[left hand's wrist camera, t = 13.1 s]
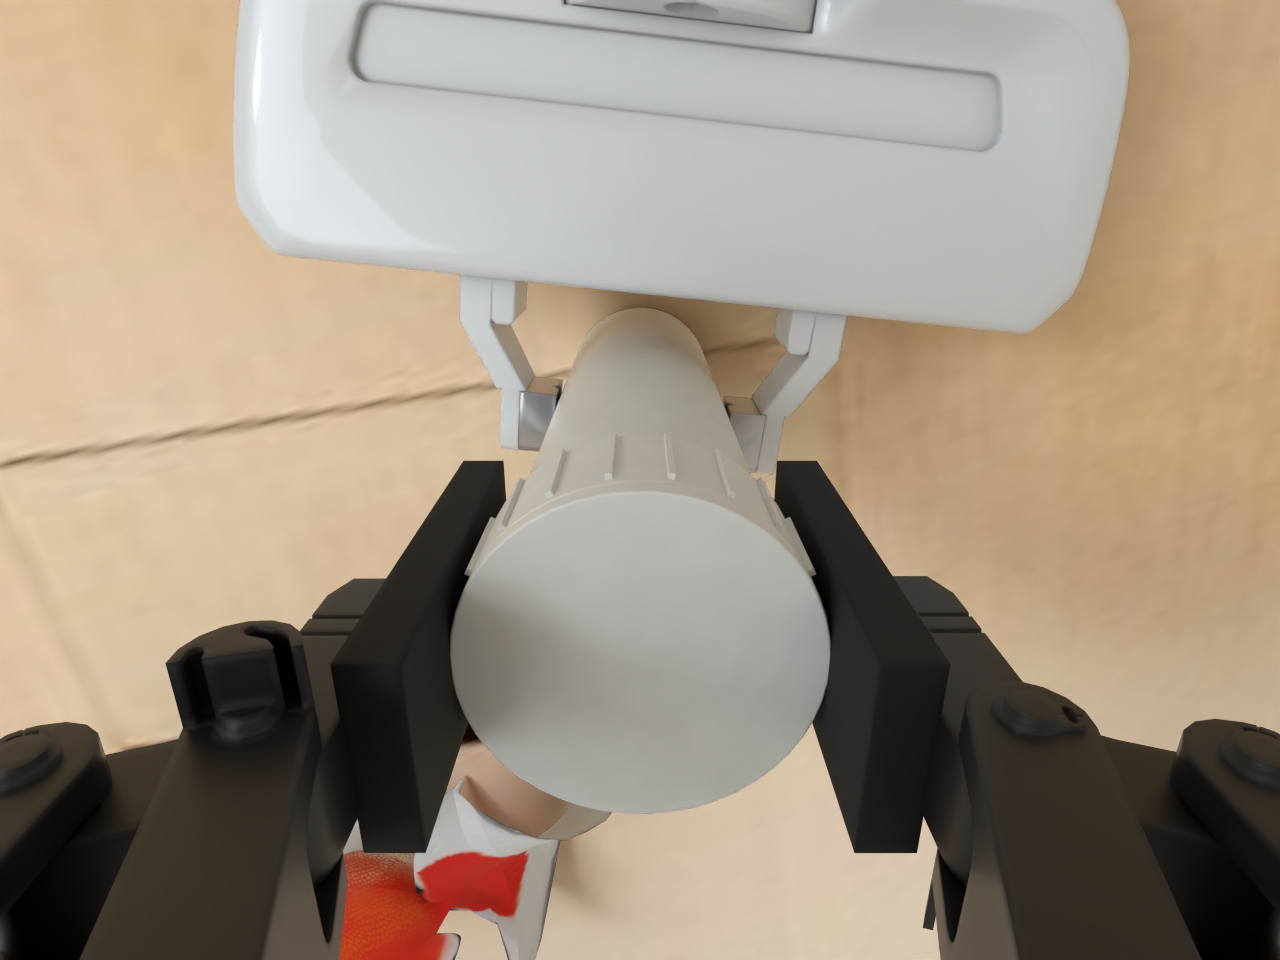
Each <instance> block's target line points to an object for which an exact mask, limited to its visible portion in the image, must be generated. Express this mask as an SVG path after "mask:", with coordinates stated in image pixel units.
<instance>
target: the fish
mask: <svg viewBox="0 0 1280 960" xmlns="http://www.w3.org/2000/svg"><path fill="white" fill-rule="evenodd" d="M462 784H463V780H462V779H460V780H459V782H458V783H457V785H456V787H455V788H453V787H452V788H451V789H450V791H449V792H448V793H447V794H446V795H445V796H444V798H443V802H442V805H441V808H440V811H439V814H438V817H437V820H436V823H435V826H434V829H433V832H432V835H431V839H430V842H429V845H428V848H427V851H426V853H415V854H414V855H413V856H412V857H411V858H410V859H409V860H408V861H407V862H406V863H405V862H404V861H402V860H401V859H399V858H398V857H396V856H393V855H391V854H388V853H364V852H363V846H362V841H361V835H360V830H359V824H358V820H357V821H356V823H355V825H354V827H353V830H352V832H351V834H350V836H349V839H348V841H347V843H346V845H345V847H344V850H343V854H344V859H345V864H346V871H347V877H348V887H347V896H346V905H345V914H344V923H343V932H342V941H341V950H340V960H455V957H456V955H457V952H458V949H459V946H460V941H461V937H460V935H458V934H454V933H437V931H438V930H439V927H440V925H441V924H442V922H443V920H444V919H445V917H446V915H447V913H448V912H449V910H464V911H472V912H474V913H476V914H478V915H479V916H481V917H483V918H485V919H487V920H489V921H491V922H494V923H496V924H498V927H499V930H500V934H501V937H502V940H503V943H504V947H505V950H506V953H507V957H508V960H535V958H536V955H537V951H538V948H539V945H540V942H541V938H542V933H543V928H544V922H545V917H546V912H547V907H548V902H549V896H550V891H551V886H552V881H553V876H554V870H555V865H556V860H557V854H558V849H559V844H560V840H562V841H566V840H568V839H571V838H573V837H575V836H578V835H580V834H582V833H585V832H587V831H589V830H591V829H592V828H594V827H596V826H597V825H599V824H601V823H602V822H604V821H606V819H607V818H608V817H609V815H610V814H611V813H612V812H607V811H601V810H597V809H592V808H587V807H583V806H579V805H576V804H573V803H571V804H570V805H569V806H568V808H567V810H566V811H565V813H564V814H563V815H562V817H561V818H560V819H559V820H558V821H557V822H556V823H555V824H554V825H553V826H551V827H550V828H549V829H548V830H546V831H545V832H543V833H542V834H541V835H539V836H538V837H534V836H531V835H529V834H526V833H523V832H521V831H518V830H515V829H513V828H510V827H508V826H505V825H503V824H501V823H500V822H498V821H496V820H494V819H493V818H491V817H489V816H487V815H486V814H484V813H482V812H481V811H479V810H477V809H476V808H475V807H473V806H472V805H471V804H470V803H469V802H468V801H467V800H466V799H465V798H464V797H462V796H461V795H460V790H461V787H462ZM436 933H437V934H436Z"/></svg>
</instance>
